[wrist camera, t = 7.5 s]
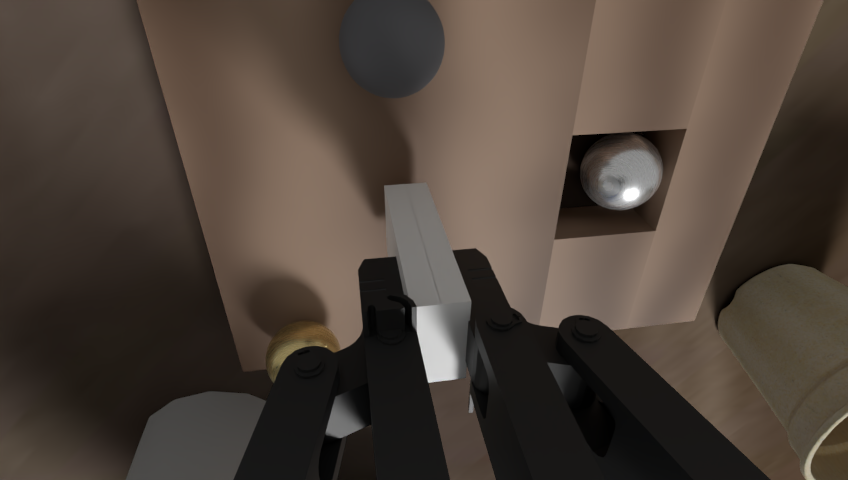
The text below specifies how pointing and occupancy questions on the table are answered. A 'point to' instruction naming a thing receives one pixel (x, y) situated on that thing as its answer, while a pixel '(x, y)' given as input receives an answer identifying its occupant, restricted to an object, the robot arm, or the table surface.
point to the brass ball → (297, 342)
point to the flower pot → (797, 359)
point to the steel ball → (621, 171)
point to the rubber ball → (392, 45)
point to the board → (470, 148)
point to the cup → (197, 437)
